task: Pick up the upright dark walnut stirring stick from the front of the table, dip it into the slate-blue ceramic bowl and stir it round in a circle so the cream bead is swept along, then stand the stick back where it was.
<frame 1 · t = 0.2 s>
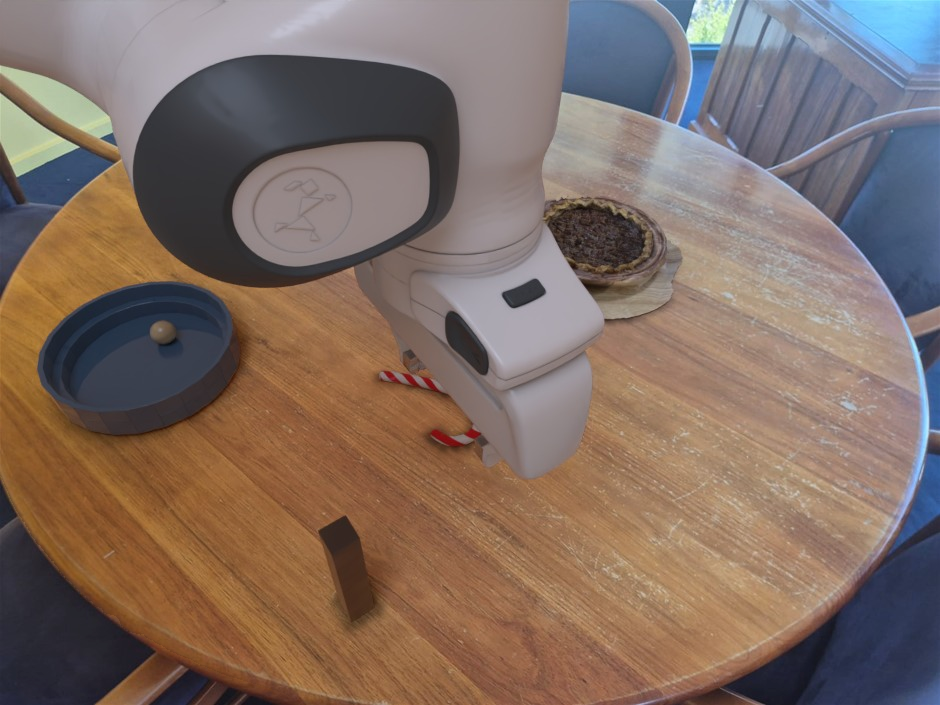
hand: (450, 407, 43), 24 cm above the table, tool pointing down, fingers open, 8 cm apart
candy cane: (427, 407, 74), on the table
vase: (234, 206, 100), on the table
pie: (588, 257, 95), on the table
stick: (356, 604, 58), on the table
bowl: (152, 366, 76), on the table
teapot: (502, 142, 118), on the table
vase 2: (375, 162, 111), on the table
bead: (163, 332, 78), point 2 cm above the table, touching bowl
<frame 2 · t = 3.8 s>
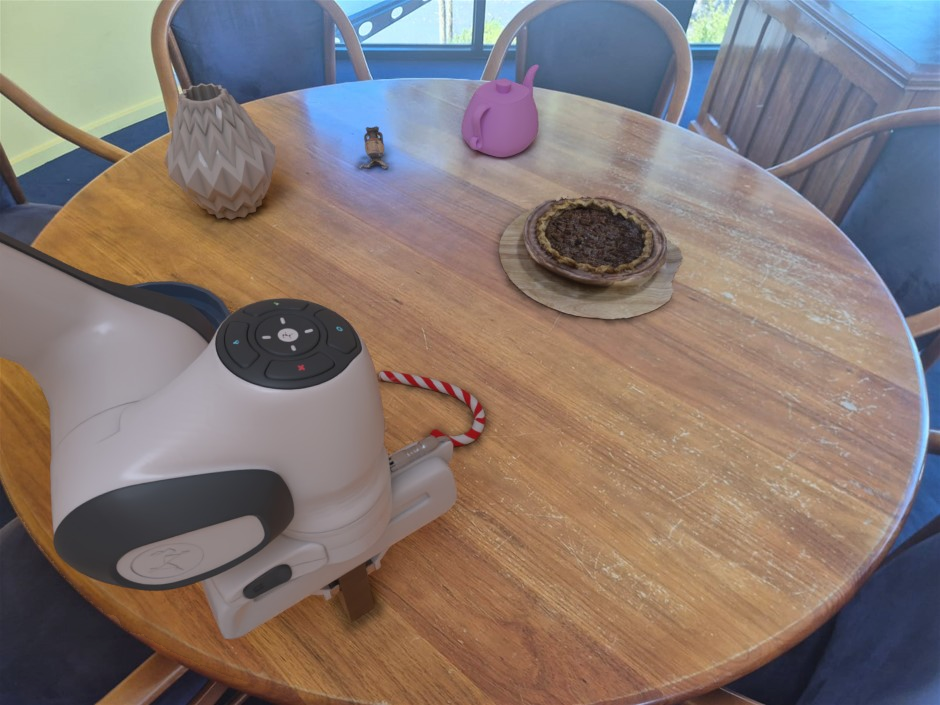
hand: (349, 577, 53), 6 cm above the table, tool pointing down, fingers closed on stick, 2 cm apart
stick: (356, 604, 58), on the table, touching gripper
everything else where it was.
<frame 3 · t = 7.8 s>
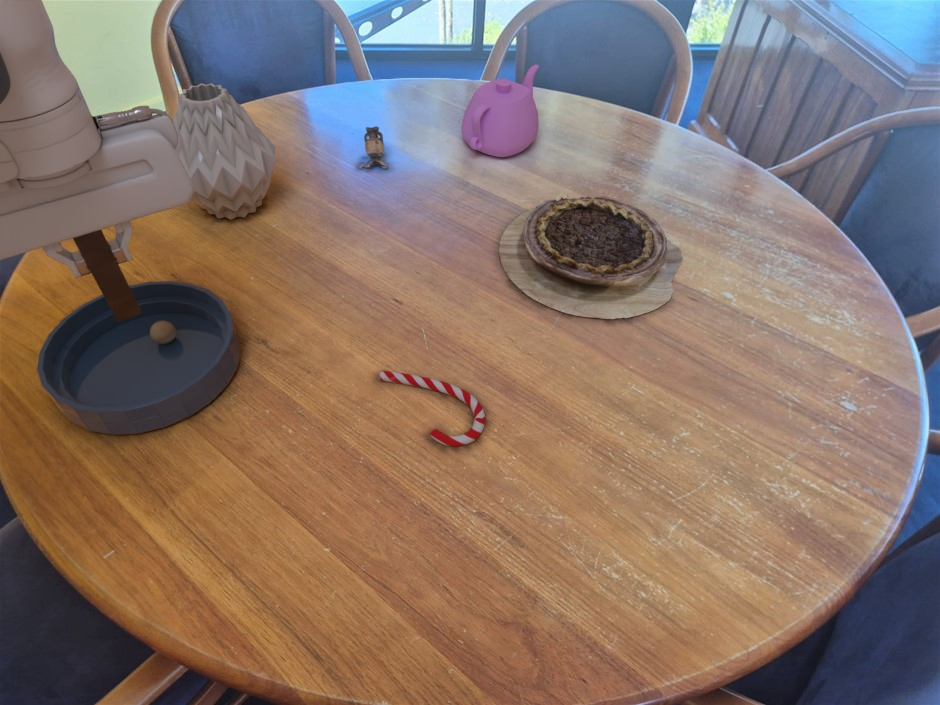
hand: (103, 265, 60), 19 cm above the table, tool pointing down, fingers closed on stick, 2 cm apart
stick: (127, 311, 64), point 13 cm above the table, touching gripper
everything else where it was.
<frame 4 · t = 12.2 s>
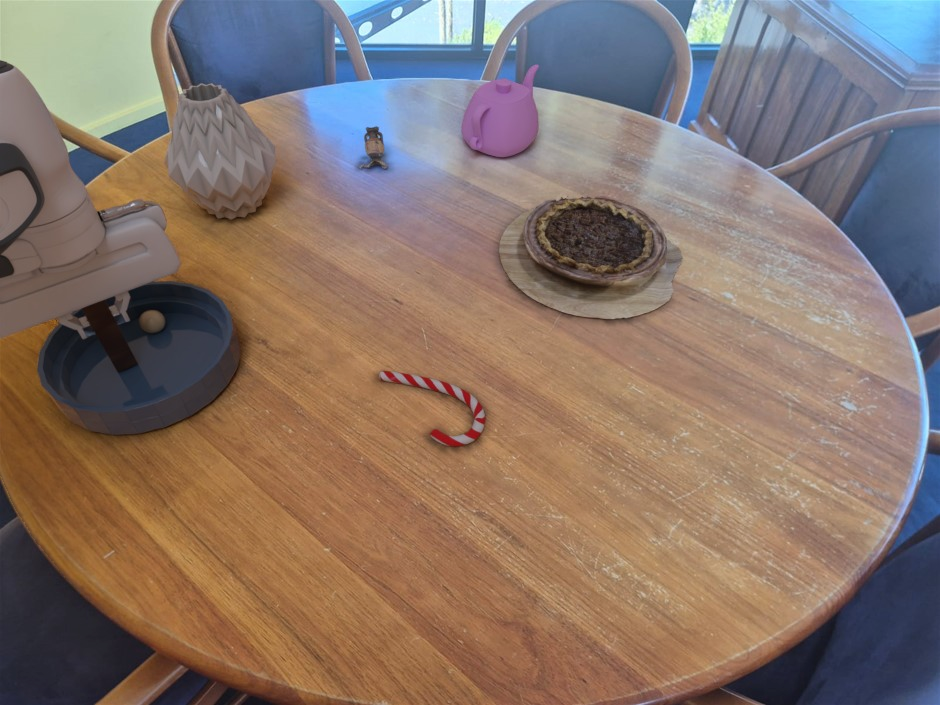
hand: (105, 327, 71), 7 cm above the table, tool pointing down, fingers closed on stick, 2 cm apart
stick: (124, 362, 76), point 1 cm above the table, touching gripper
bead: (152, 321, 79), point 2 cm above the table, tilted 100°, touching bowl
everything else where it was.
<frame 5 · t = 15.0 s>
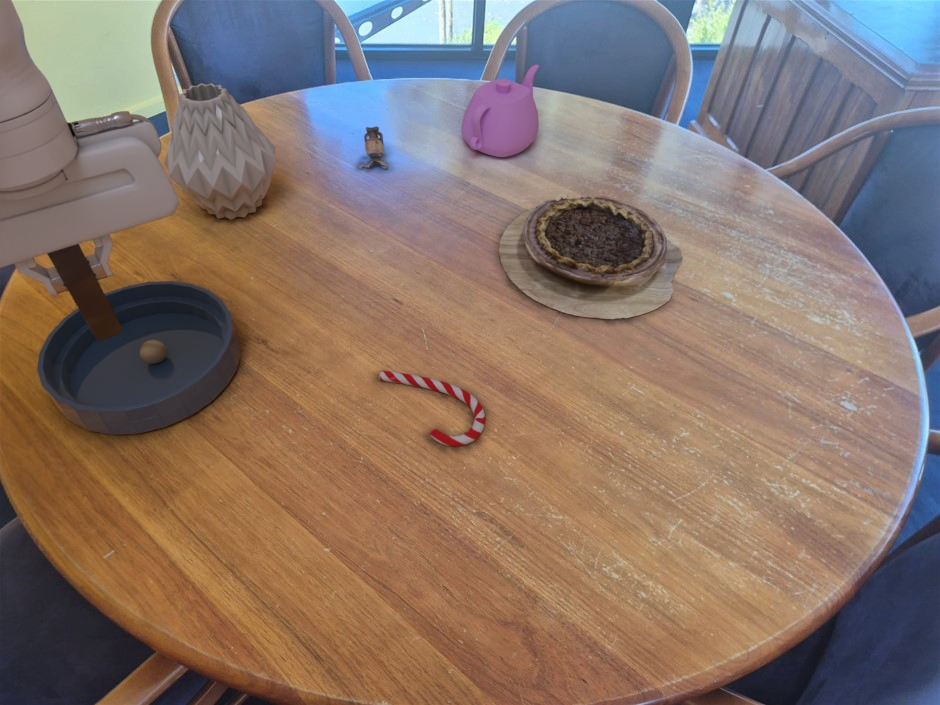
hand: (81, 282, 56), 21 cm above the table, tool pointing down, fingers closed on stick, 2 cm apart
stick: (107, 329, 60), point 15 cm above the table, touching gripper
bead: (153, 351, 75), point 2 cm above the table, tilted 112°, touching bowl
everything else where it was.
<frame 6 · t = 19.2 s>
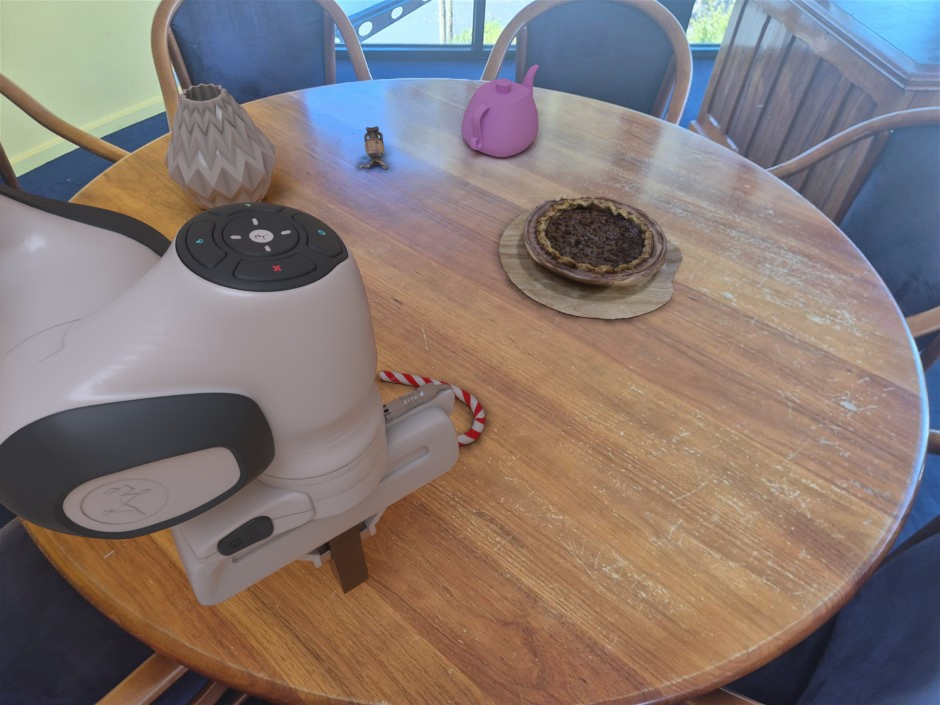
hand: (342, 543, 49), 12 cm above the table, tool pointing down, fingers closed on stick, 2 cm apart
stick: (350, 575, 53), point 6 cm above the table, touching gripper
bead: (154, 399, 70), point 2 cm above the table, tilted 51°, touching bowl
everything else where it was.
when the fingers open (6 cm above the table, at t = 20.8 s): stick stays where it is, on the table.
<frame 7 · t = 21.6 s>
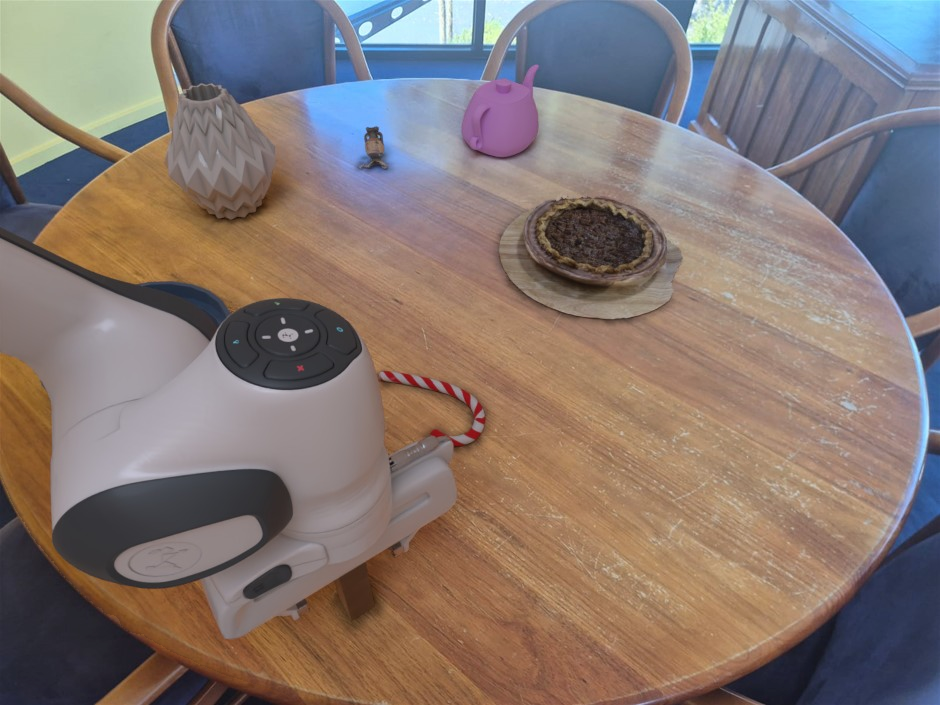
hand: (349, 577, 53), 6 cm above the table, tool pointing down, fingers open, 8 cm apart
stick: (357, 603, 58), on the table
bead: (154, 397, 71), point 2 cm above the table, tilted 38°, touching bowl
everything else where it was.
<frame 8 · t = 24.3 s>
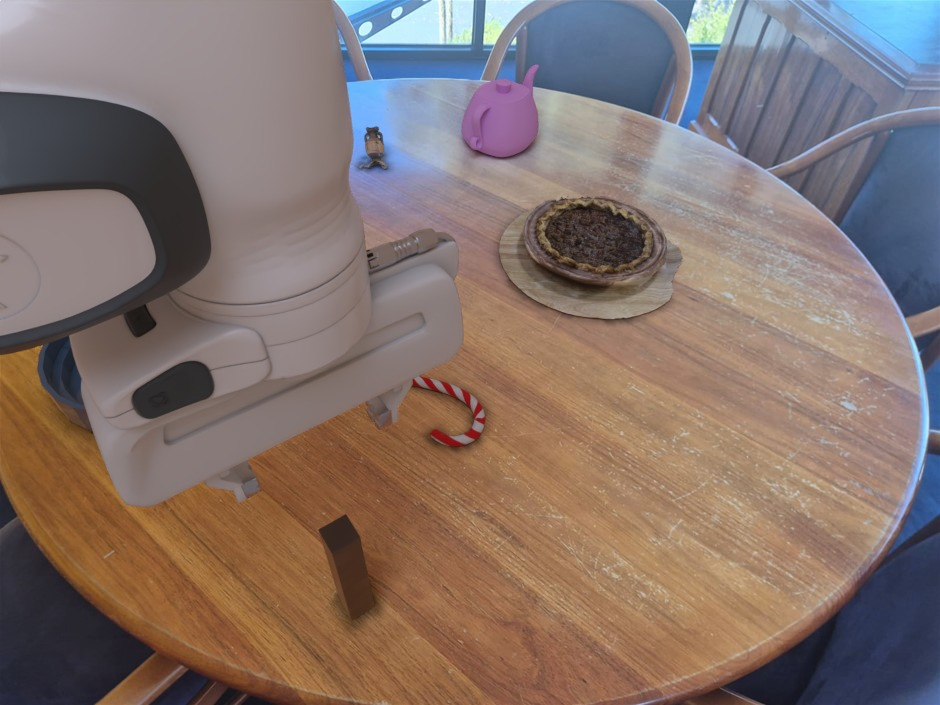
hand: (318, 452, 39), 25 cm above the table, tool pointing down, fingers open, 8 cm apart
bead: (154, 394, 71), point 2 cm above the table, tilted 23°, touching bowl
everything else where it was.
at the end: bead moved 10.2 cm from its start; bead inside the target area in the bowl (6.8 cm from its centre), point 2.1 cm above the bowl's base; stick inside the target area (0.1 cm from its centre), on the table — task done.
